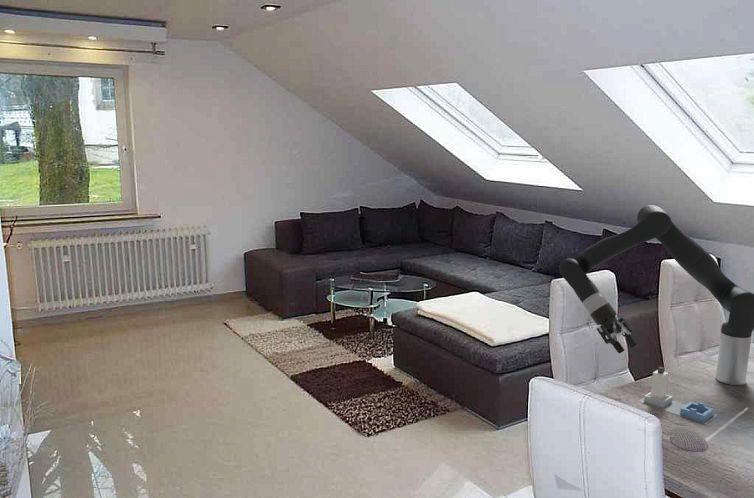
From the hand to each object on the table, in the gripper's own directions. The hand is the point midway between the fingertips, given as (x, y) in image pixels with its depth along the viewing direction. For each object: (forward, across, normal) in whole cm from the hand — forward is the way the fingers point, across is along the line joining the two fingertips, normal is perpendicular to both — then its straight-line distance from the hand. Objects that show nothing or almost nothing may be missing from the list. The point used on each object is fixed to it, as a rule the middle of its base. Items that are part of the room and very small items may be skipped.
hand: (628, 349), depth 204 cm
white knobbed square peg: (+18, 0, +2) cm, 18 cm away
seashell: (+31, -18, -9) cm, 37 cm away
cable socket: (+23, 0, -1) cm, 23 cm away
